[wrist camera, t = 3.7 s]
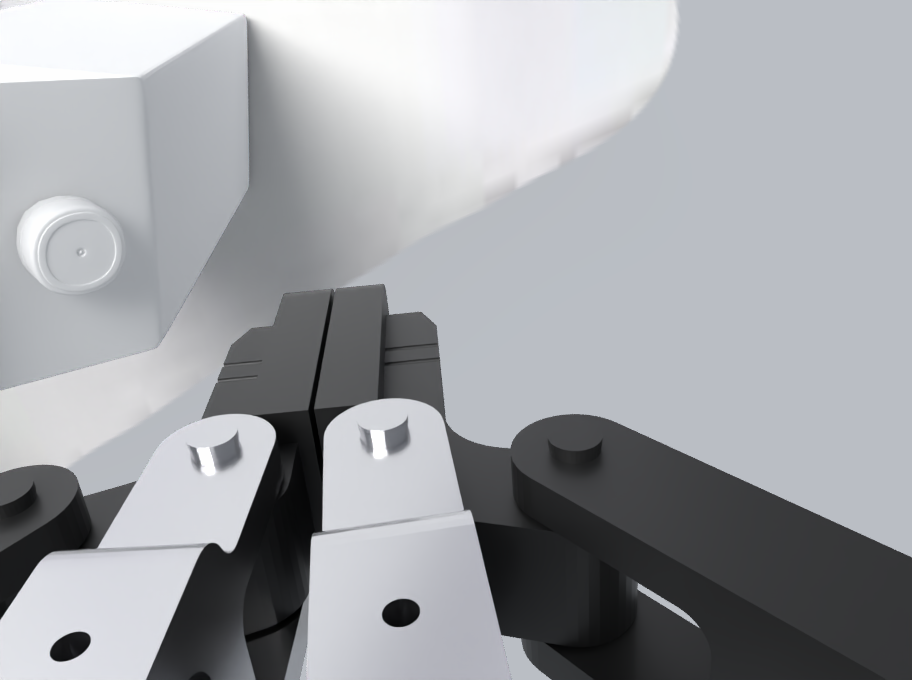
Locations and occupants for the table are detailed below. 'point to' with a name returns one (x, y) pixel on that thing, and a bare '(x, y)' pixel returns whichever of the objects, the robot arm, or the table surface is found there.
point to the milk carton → (112, 173)
